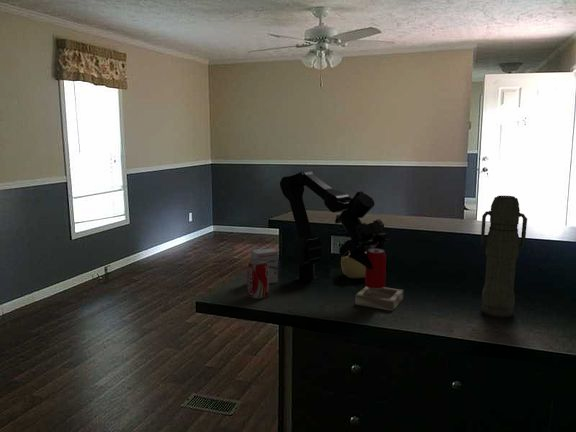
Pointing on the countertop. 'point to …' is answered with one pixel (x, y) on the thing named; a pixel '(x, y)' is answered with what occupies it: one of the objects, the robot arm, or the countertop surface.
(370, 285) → the beverage can
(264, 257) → the ink box
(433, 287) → the countertop surface
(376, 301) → the can holder
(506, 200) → the thermos
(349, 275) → the sculpture
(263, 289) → the soda can
